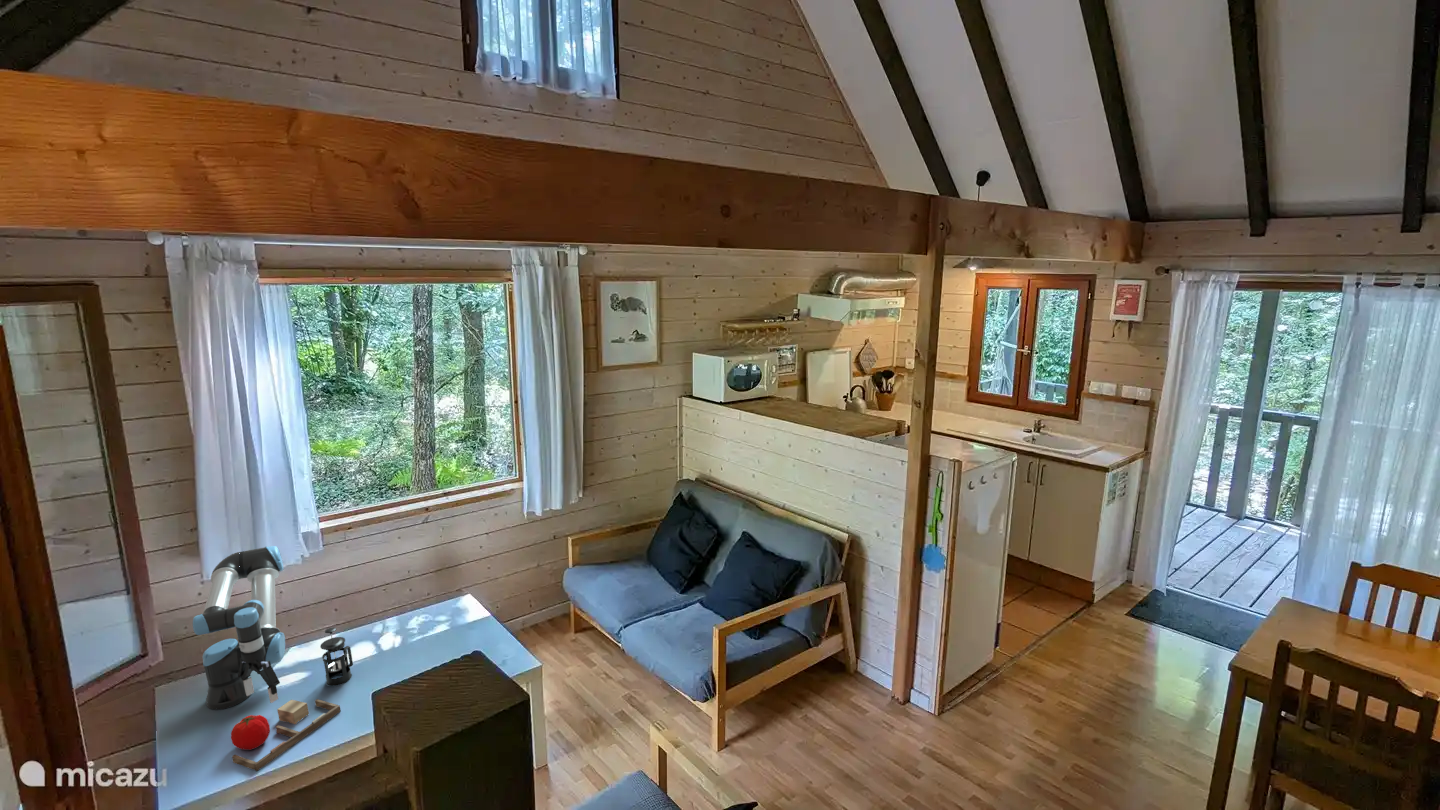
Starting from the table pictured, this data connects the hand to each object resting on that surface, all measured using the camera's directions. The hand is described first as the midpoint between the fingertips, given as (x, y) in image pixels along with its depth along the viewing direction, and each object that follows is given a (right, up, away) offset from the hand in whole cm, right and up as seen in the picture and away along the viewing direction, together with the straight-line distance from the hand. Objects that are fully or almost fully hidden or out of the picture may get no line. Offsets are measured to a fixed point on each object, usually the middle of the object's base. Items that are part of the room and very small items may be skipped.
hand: (262, 697), depth 265 cm
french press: (+20, 0, +19) cm, 27 cm away
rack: (+20, -8, -15) cm, 26 cm away
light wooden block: (+15, -6, -5) cm, 17 cm away
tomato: (+10, -9, -19) cm, 23 cm away
